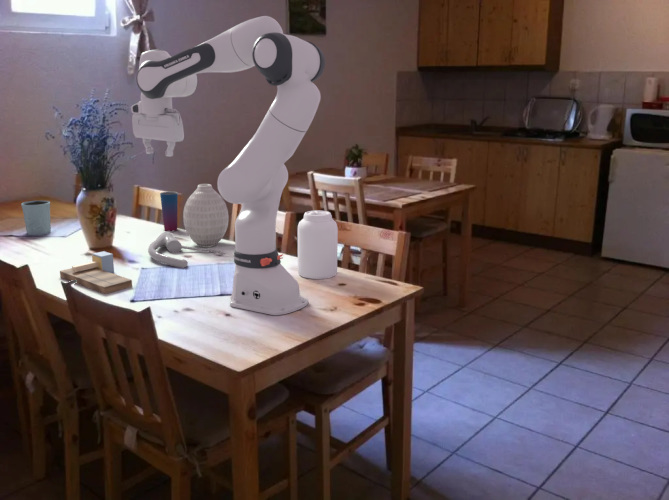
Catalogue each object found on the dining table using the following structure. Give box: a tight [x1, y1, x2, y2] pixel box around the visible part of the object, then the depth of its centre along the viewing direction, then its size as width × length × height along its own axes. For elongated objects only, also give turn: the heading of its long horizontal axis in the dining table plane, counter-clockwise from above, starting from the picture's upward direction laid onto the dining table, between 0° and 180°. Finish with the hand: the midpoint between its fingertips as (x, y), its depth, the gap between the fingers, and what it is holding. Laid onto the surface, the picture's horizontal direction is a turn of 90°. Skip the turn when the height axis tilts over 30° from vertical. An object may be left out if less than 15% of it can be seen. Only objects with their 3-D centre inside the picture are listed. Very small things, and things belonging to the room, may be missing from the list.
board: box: [59, 267, 133, 295], centre depth 193 cm, size 24×9×2 cm, turn 51°
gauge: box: [71, 250, 115, 274], centre depth 199 cm, size 5×12×6 cm, turn 141°
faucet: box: [147, 231, 228, 269], centre depth 222 cm, size 5×28×28 cm
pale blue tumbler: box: [20, 200, 52, 236], centre depth 250 cm, size 10×10×12 cm
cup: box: [159, 191, 179, 232], centre depth 257 cm, size 7×7×15 cm
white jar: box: [297, 209, 339, 280], centre depth 201 cm, size 12×12×20 cm
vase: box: [182, 183, 229, 248], centre depth 234 cm, size 16×16×22 cm
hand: (159, 155), depth 192 cm, fingers open, 8 cm apart
